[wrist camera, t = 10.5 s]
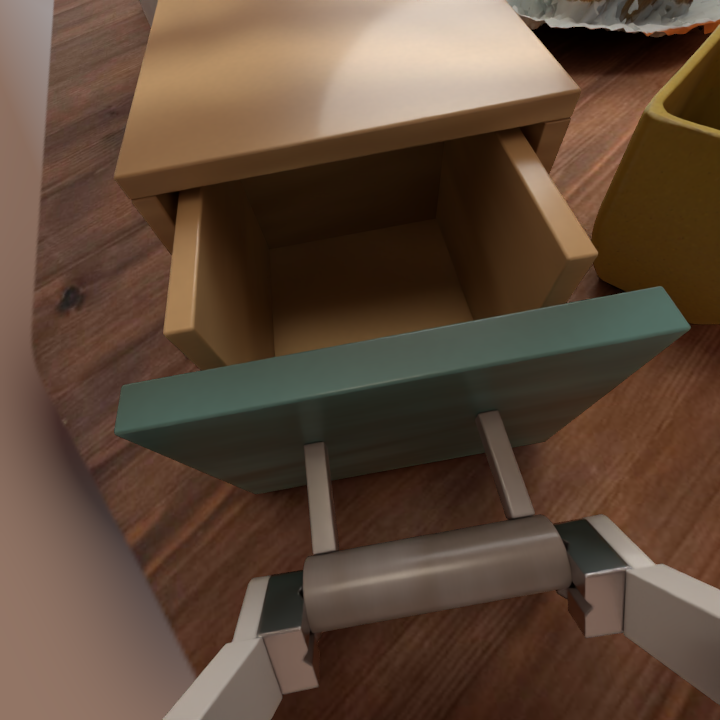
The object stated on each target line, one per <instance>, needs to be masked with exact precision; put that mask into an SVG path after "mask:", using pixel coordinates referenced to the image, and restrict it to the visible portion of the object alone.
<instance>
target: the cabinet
mask: <svg viewBox="0 0 720 720" xmlns="http://www.w3.org/2000/svg"><path fill="white" fill-rule="evenodd" d="M580 93H581V88H580V87H579V86H578V85H577V83H576V82H575V81H574V80H573V79H572V78H571V76H570V75H569V74H568V73H567V72H566V70H565V69H564V68H563V67H562V66H561V65H560V63H559V62H558V61H557V60H556V59H555V58H554V56H553V55H552V54H551V53H550V52H549V50H548V49H547V48H546V47H545V46H544V45H543V43H542V42H541V41H540V40H539V39H538V37H537V36H536V35H535V34H534V33H533V32H532V30H531V29H530V28H529V27H528V26H527V24H526V23H525V22H524V21H523V20H522V19H521V17H520V16H519V15H518V14H517V13H516V11H515V10H514V9H513V8H512V7H511V6H510V4H509V3H508V2H507V1H506V0H158V2H157V6H156V10H155V14H154V18H153V22H152V26H151V30H150V34H149V38H148V42H147V46H146V50H145V54H144V58H143V62H142V66H141V70H140V74H139V78H138V82H137V86H136V90H135V94H134V98H133V102H132V106H131V110H130V114H129V118H128V122H127V125H126V129H125V133H124V137H123V141H122V145H121V149H120V153H119V157H118V161H117V165H116V169H115V173H114V179H115V181H116V182H117V183H118V185H119V186H120V187H121V189H122V190H123V191H124V193H125V194H126V195H127V197H128V198H129V199H131V201H132V204H133V205H134V206H135V207H136V209H137V210H138V211H139V213H140V214H141V215H142V217H143V218H144V219H145V221H146V222H147V223H148V225H149V226H150V227H151V229H152V230H153V231H154V233H155V234H156V235H157V237H158V238H159V239H160V241H161V242H162V243H163V245H164V246H165V247H166V248H167V250H168V251H169V252H170V254H171V255H172V252H173V243H174V234H175V225H176V217H177V208H178V199H179V191H181V190H186V189H191V188H197V187H202V186H207V185H213V184H218V183H223V182H229V181H234V180H239V179H245V178H250V177H255V176H261V175H266V174H271V173H277V172H282V171H287V170H293V169H298V168H303V167H309V166H314V165H319V164H325V163H330V162H335V161H341V160H346V159H351V158H357V157H362V156H367V155H373V154H378V153H383V152H389V151H394V150H399V149H405V148H410V147H415V146H421V145H426V144H431V143H437V142H442V141H447V140H453V139H458V138H463V137H469V136H474V135H479V134H485V133H490V132H495V131H501V130H506V129H511V128H517V127H519V128H520V130H521V131H522V133H523V135H524V136H525V138H526V139H527V141H528V142H529V144H530V146H531V147H532V149H533V150H534V152H535V153H536V155H537V157H538V158H539V160H540V161H541V163H542V165H543V166H544V168H545V169H546V171H547V172H548V174H549V173H550V171H551V168H552V166H553V163H554V161H555V158H556V156H557V153H558V151H559V148H560V146H561V143H562V141H563V138H564V135H565V133H566V130H567V128H568V125H569V123H570V120H571V118H570V117H571V116H572V114H573V111H574V109H575V106H576V104H577V101H578V98H579V96H580Z"/></svg>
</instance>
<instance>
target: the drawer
mask: <svg viewBox="0 0 720 720" xmlns="http://www.w3.org/2000/svg"><path fill="white" fill-rule="evenodd" d="M597 256H598V251H597V250H596V248H595V247H594V245H593V243H592V242H591V240H590V239H589V237H588V236H587V234H586V232H585V231H584V229H583V228H582V226H581V225H580V223H579V221H578V220H577V218H576V217H575V215H574V213H573V212H572V210H571V209H570V207H569V206H568V204H567V202H566V201H565V199H564V198H563V196H562V195H561V193H560V191H559V190H558V188H557V187H556V185H555V183H554V182H553V180H552V179H551V177H550V176H549V174H548V172H547V171H546V169H545V168H544V166H543V165H542V163H541V161H540V160H539V158H538V157H537V155H536V153H535V152H534V150H533V149H532V147H531V146H530V144H529V142H528V141H527V139H526V138H525V136H524V135H523V133H522V131H521V130H520V128H519V127H517V128H511V129H506V130H501V131H495V132H490V133H485V134H479V135H474V136H469V137H463V138H458V139H453V140H447V141H442V142H437V143H431V144H426V145H421V146H415V147H410V148H405V149H399V150H394V151H389V152H383V153H378V154H373V155H367V156H362V157H357V158H351V159H346V160H341V161H335V162H330V163H325V164H319V165H314V166H309V167H303V168H298V169H293V170H287V171H282V172H277V173H271V174H266V175H261V176H255V177H250V178H245V179H239V180H234V181H229V182H223V183H218V184H213V185H207V186H202V187H197V188H191V189H186V190H181V191H179V199H178V208H177V217H176V225H175V234H174V243H173V252H172V260H171V269H170V278H169V286H168V295H167V304H166V313H165V321H164V330H163V333H164V336H165V337H166V338H167V339H168V340H169V341H171V342H172V343H173V344H174V345H175V346H176V347H177V348H178V349H179V350H180V351H181V352H182V353H183V354H184V355H185V356H187V357H188V358H189V359H190V360H191V361H192V362H193V363H194V364H195V365H196V366H197V367H198V368H199V369H200V370H201V371H196V372H191V373H186V374H180V375H175V376H169V377H164V378H158V379H153V380H148V381H142V382H137V383H131V384H126V385H123V386H122V387H121V393H120V399H119V405H118V411H117V417H116V423H115V429H114V433H115V435H117V436H119V437H121V438H124V439H126V440H128V441H131V442H133V443H135V444H138V445H140V446H143V447H145V448H147V449H150V450H152V451H154V452H157V453H159V454H161V455H164V456H166V457H169V458H171V459H173V460H176V461H178V462H180V463H183V464H185V465H187V466H190V467H192V468H194V469H197V470H199V471H202V472H204V473H206V474H209V475H211V476H213V477H216V478H218V479H220V480H223V481H225V482H227V483H230V484H232V485H235V486H237V487H239V488H242V489H244V490H246V491H249V492H251V493H253V494H260V493H266V492H271V491H277V490H282V489H288V488H293V487H299V486H304V485H307V491H308V502H309V514H310V526H311V537H312V549H313V554H314V555H313V556H308V557H307V558H306V560H305V564H304V569H303V599H304V601H305V606H306V613H307V618H308V622H309V626H310V631H311V632H312V633H320V632H325V631H331V630H336V629H342V628H347V627H353V626H358V625H364V624H370V623H375V622H381V621H386V620H392V619H397V618H403V617H409V616H414V615H420V614H425V613H431V612H436V611H442V610H448V609H453V608H459V607H464V606H470V605H475V604H481V603H487V602H492V601H498V600H503V599H509V598H514V597H520V596H526V595H531V594H537V593H542V592H548V591H553V590H559V589H564V588H568V587H569V586H570V585H571V583H572V580H571V579H572V576H571V568H570V563H569V559H568V556H567V551H566V548H565V546H564V543H563V541H562V539H561V537H560V535H559V533H558V531H557V530H556V528H555V527H554V525H553V524H552V522H551V521H550V520H549V519H548V518H547V517H545V516H544V515H534V514H535V511H534V508H533V506H532V503H531V500H530V497H529V494H528V492H527V489H526V486H525V483H524V480H523V478H522V475H521V472H520V469H519V467H518V464H517V461H516V458H515V455H514V453H513V450H512V448H513V447H519V446H524V445H529V444H535V443H540V442H545V441H546V440H548V439H549V438H550V437H551V436H553V435H554V434H555V433H557V432H558V431H559V430H561V429H562V428H563V427H564V426H566V425H567V424H568V423H570V422H571V421H572V420H573V419H575V418H576V417H577V416H579V415H580V414H581V413H583V412H584V411H585V410H586V409H588V408H589V407H590V406H592V405H593V404H594V403H595V402H597V401H598V400H599V399H601V398H602V397H603V396H605V395H606V394H607V393H608V392H610V391H611V390H612V389H614V388H615V387H616V386H618V385H619V384H620V383H621V382H623V381H624V380H625V379H627V378H628V377H629V376H630V375H632V374H633V373H634V372H636V371H637V370H638V369H640V368H641V367H642V366H643V365H645V364H646V363H647V362H649V361H650V360H651V359H652V358H654V357H655V356H656V355H658V354H659V353H660V352H662V351H663V350H664V349H665V348H667V347H668V346H669V345H671V344H672V343H673V342H674V341H676V340H677V339H678V338H680V337H681V336H682V335H684V334H685V333H686V332H687V331H689V330H690V328H691V327H690V325H689V323H688V322H687V320H686V319H685V318H684V316H683V315H682V313H681V312H680V311H679V309H678V308H677V306H676V305H675V303H674V302H673V301H672V299H671V298H670V296H669V295H668V293H667V292H666V291H665V289H664V288H663V287H662V286H657V287H652V288H647V289H641V290H636V291H630V292H625V293H619V294H614V295H609V296H603V297H598V298H592V299H587V300H581V301H576V302H571V303H566V302H567V301H568V299H569V298H570V296H571V295H572V293H573V292H574V290H575V289H576V287H577V286H578V284H579V283H580V281H581V280H582V278H583V277H584V275H585V274H586V272H587V271H588V269H589V268H590V266H591V265H592V263H593V262H594V260H595V259H596V257H597ZM480 453H486V456H487V460H488V463H489V466H490V469H491V472H492V475H493V478H494V481H495V484H496V488H497V491H498V494H499V497H500V500H501V503H502V506H503V509H504V512H505V515H506V518H507V519H508V520H506V521H501V522H495V523H490V524H484V525H479V526H473V527H468V528H462V529H456V530H451V531H445V532H440V533H434V534H429V535H423V536H418V537H412V538H407V539H401V540H396V541H390V542H385V543H379V544H374V545H368V546H362V547H357V548H351V549H346V550H340V551H339V541H338V533H337V524H336V516H335V507H334V499H333V490H332V482H331V481H332V480H337V479H343V478H348V477H354V476H359V475H365V474H370V473H376V472H381V471H387V470H392V469H398V468H403V467H409V466H414V465H420V464H425V463H431V462H436V461H442V460H447V459H453V458H458V457H464V456H469V455H475V454H480ZM532 515H534V516H532Z"/></svg>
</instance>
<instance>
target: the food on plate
mask: <svg viewBox="0 0 720 720" xmlns="http://www.w3.org/2000/svg"><path fill="white" fill-rule="evenodd" d="M506 1H507V2H508V3H509V4H510V6H511V7H512V8H513V9H514V10H515V11H516V13H517V14H518V15H519V16H520V17H521V19H522V20H523V21H524V22H525V23H526V24H527V26H528V27H529V28H530V29H532V30H533V29H537V28H538V27H539V26H542V25H543V23H547V24H548V25H549V26H550V27H551V28H570V27H582V26H583V27H587V28H589V29H597V28H604V29H605V30H606V31H608V30H611V31H613V30H618V32H619V31H623V32H633V34H636V33H638V32H640V31H641V32H643V33H644V34H645V35H646V36H649V35H650V36H652V37H662V36H664V35H665V34H667V35H668V36H669V35H672V34H685V33H687V32H688V31H689V30H691V29H693V28H694V27H696V26H698V25H704V34H707V33H711V32H714V30H715V29H716V28H717V27H718V25H719V24H720V0H506ZM699 29H700V30H702V28H699Z"/></svg>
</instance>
